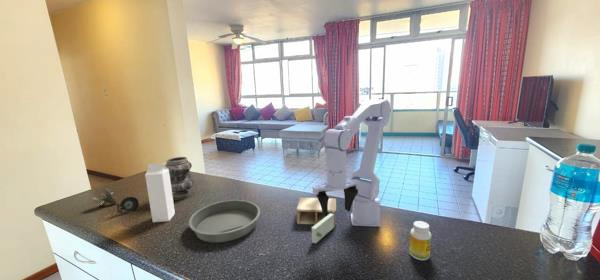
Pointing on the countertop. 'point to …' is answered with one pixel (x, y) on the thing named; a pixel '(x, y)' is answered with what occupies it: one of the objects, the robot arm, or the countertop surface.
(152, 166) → the milk
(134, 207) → the artificial flower
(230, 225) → the cake pan
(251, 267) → the countertop surface
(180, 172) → the carved stone vase
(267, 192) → the countertop surface
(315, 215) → the cabinet
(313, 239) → the door
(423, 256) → the supplement bottle
